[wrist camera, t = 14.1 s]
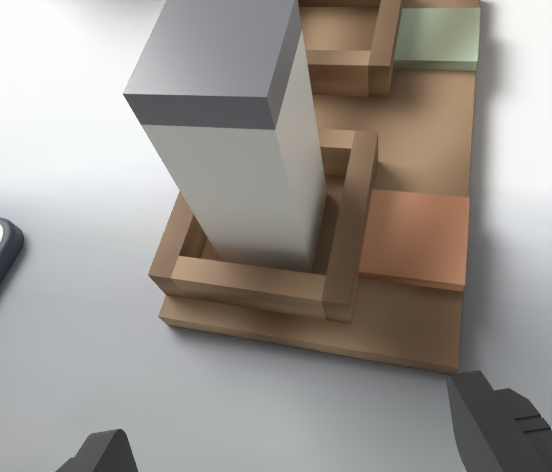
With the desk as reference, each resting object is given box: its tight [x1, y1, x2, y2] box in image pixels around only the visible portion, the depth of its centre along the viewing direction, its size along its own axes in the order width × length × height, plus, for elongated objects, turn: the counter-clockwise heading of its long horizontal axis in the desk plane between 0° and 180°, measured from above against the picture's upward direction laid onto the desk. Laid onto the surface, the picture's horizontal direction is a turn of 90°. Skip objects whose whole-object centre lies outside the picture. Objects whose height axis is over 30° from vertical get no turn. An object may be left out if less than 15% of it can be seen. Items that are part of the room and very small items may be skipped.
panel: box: [148, 0, 481, 375], centre depth 24 cm, size 12×22×3 cm, turn 167°
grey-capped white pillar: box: [123, 0, 327, 273], centre depth 18 cm, size 4×4×10 cm
